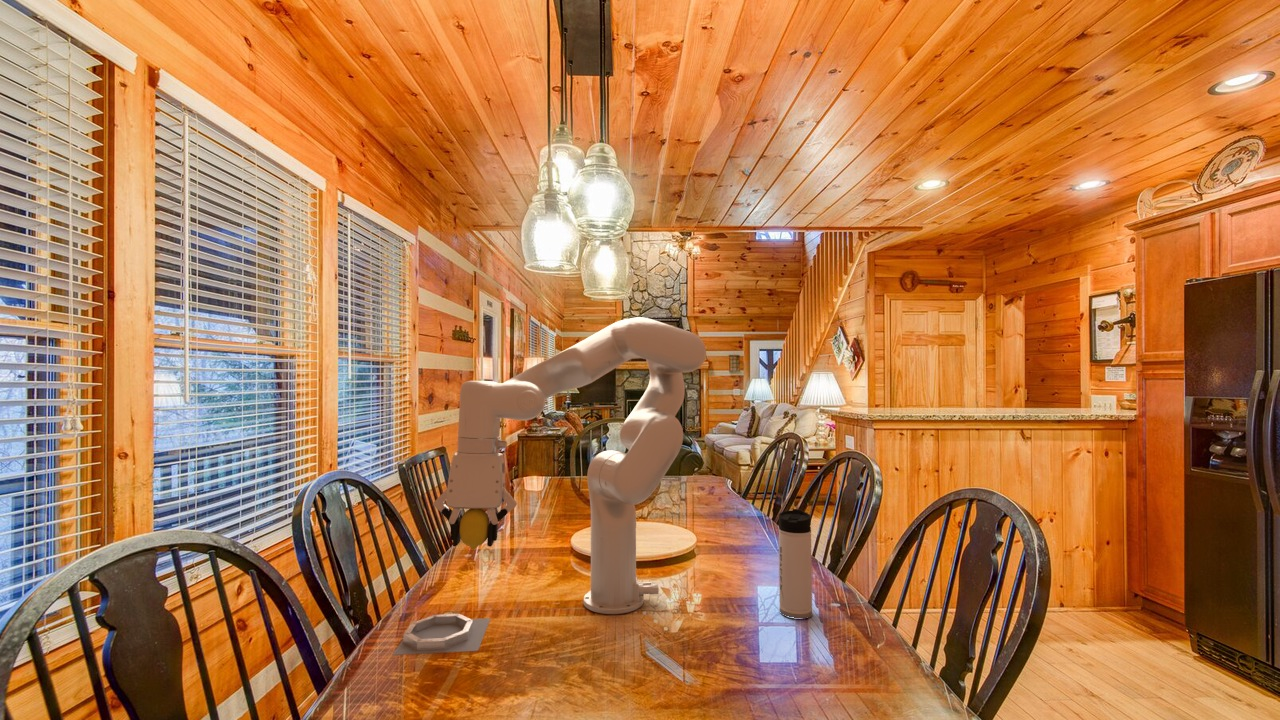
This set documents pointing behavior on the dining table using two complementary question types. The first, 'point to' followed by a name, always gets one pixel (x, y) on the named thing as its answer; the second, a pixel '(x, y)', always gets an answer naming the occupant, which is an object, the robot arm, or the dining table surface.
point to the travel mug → (795, 564)
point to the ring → (438, 643)
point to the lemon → (474, 527)
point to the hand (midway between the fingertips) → (473, 543)
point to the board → (446, 631)
